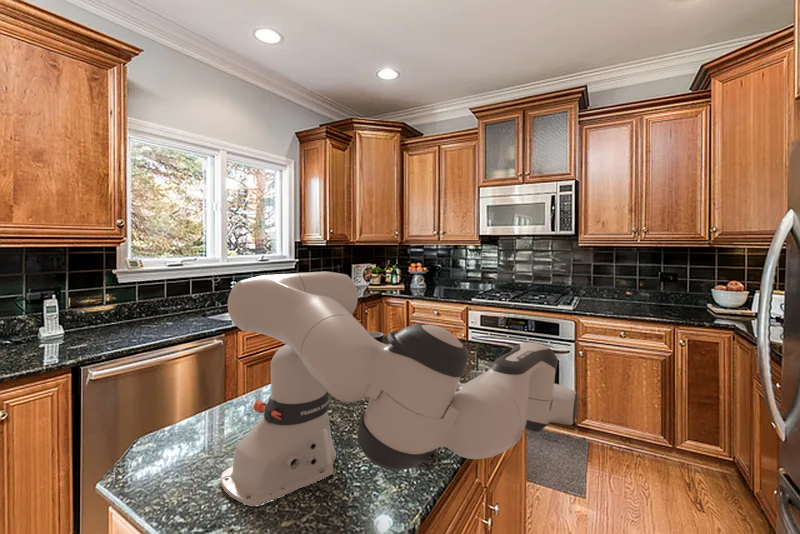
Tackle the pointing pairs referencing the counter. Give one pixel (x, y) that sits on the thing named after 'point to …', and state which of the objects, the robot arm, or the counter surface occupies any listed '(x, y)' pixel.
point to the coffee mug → (377, 336)
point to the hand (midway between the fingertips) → (462, 378)
